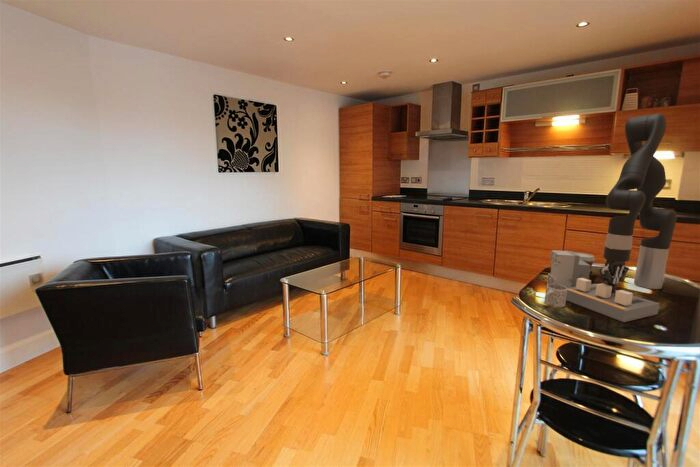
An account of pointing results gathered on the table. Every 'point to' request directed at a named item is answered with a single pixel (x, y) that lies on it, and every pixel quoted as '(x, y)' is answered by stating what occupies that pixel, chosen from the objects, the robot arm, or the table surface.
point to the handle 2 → (623, 297)
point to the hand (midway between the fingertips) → (610, 292)
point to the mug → (555, 295)
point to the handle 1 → (583, 284)
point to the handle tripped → (603, 290)
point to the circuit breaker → (567, 268)
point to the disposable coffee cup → (586, 258)
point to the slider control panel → (612, 304)
